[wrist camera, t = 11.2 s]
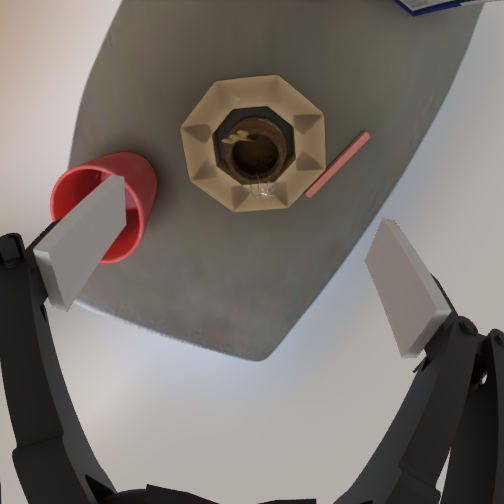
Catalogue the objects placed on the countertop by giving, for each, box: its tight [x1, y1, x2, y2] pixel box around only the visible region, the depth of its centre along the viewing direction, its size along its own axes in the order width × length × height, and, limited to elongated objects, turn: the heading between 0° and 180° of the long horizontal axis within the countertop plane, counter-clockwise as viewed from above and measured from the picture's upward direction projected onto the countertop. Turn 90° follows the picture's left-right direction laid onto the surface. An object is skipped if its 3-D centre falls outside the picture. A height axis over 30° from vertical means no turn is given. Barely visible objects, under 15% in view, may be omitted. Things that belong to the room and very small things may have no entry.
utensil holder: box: [222, 116, 287, 202], centre depth 25 cm, size 6×6×12 cm
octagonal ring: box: [180, 75, 326, 212], centre depth 29 cm, size 14×14×3 cm
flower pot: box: [50, 152, 157, 263], centre depth 29 cm, size 11×11×10 cm
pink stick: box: [304, 131, 371, 198], centre depth 31 cm, size 10×1×1 cm, turn 141°
